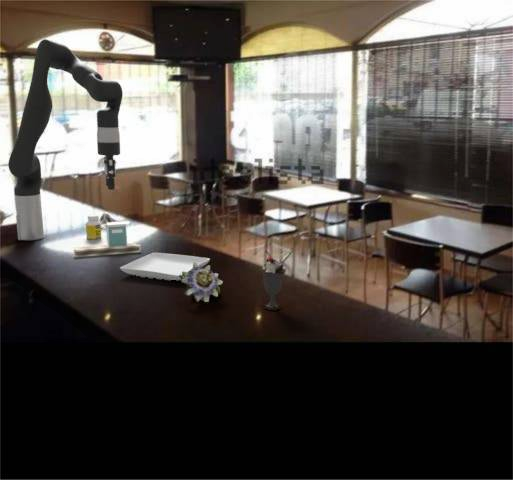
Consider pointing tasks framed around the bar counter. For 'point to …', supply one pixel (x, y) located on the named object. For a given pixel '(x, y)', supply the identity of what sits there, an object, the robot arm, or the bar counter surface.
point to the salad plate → (163, 265)
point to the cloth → (108, 220)
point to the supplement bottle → (93, 227)
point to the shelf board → (105, 250)
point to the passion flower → (201, 282)
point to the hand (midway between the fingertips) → (110, 187)
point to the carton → (116, 234)
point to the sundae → (272, 278)
